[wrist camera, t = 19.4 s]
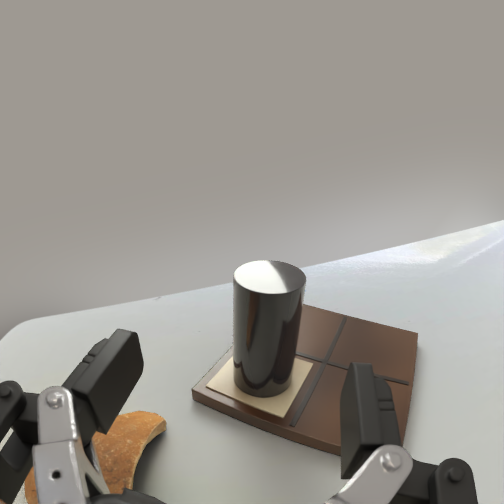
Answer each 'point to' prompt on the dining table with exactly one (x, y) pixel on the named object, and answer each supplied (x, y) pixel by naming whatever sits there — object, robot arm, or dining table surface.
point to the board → (319, 379)
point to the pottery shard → (117, 450)
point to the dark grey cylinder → (266, 326)
